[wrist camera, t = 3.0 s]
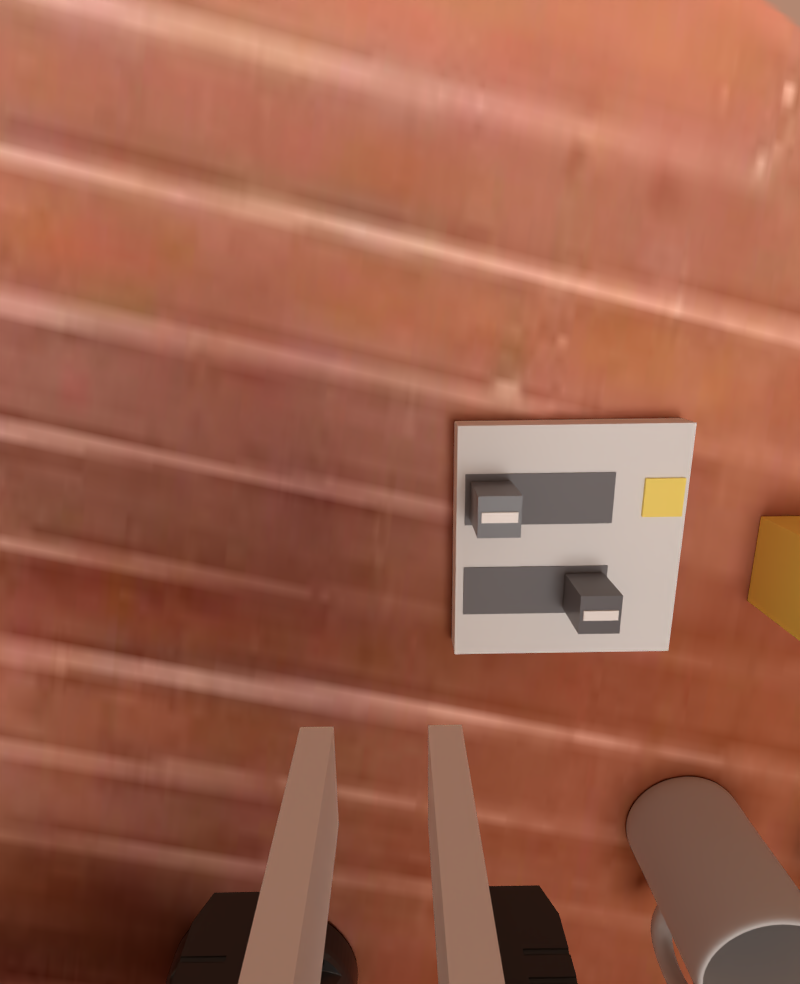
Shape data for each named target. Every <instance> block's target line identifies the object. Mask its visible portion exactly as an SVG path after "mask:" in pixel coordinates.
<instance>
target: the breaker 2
mask: <svg viewBox="0 0 800 984" xmlns="http://www.w3.org/2000/svg"><path fill="white" fill-rule="evenodd" d="M622 603H623V595H622V594H621V593H620V591H619V590H618V589H617V588H616V587H615V586H614V584H613V583H612V582H611V581H610V580H609V579H608V577H607V576H606V575H605V574H604V573H577V574H565V584H564V599H563V610H564V611H565V613H566V615H567V616H568V618H569V620H570V621H571V623H572V625H573V626H574V628H575V630H576V631H577V633H578V634H620V624H621V613H622Z"/></svg>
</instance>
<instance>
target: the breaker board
mask: <svg viewBox="0 0 800 984" xmlns="http://www.w3.org/2000/svg"><path fill="white" fill-rule="evenodd" d="M696 425H697V423H696V422H693V421H689V420H686V419H683V418H633V419H561V420H489V421H454V491H453V573H452V643H453V648H454V654H490V653H555V652H621V651H668V649H669V641H670V633H671V625H672V617H673V609H674V601H675V593H676V585H677V577H678V569H679V561H680V553H681V545H682V537H683V529H684V521H685V513H686V505H687V497H688V489H689V481H690V473H691V465H692V457H693V449H694V441H695V433H696ZM492 481H511V482H512V483H513V484H514V485H515V487H516V488H517V489H518V491H519V492H520V493H521V494H522V496H523V499H522V521H521V538H477V536H476V534H475V531H474V529H473V526H472V524H471V521H470V502H471V482H492ZM577 573H604V574H605V575H606V576H607V577H608V579H609V580H610V581H611V582H612V583H613V584H614V586H615V587H616V588H617V589H618V590H619V591H620V593H621V594H622V595H623V603H622V613H621V624H620V634H578V633H577V631H576V630H575V628H574V626H573V625H572V623H571V621H570V620H569V618H568V616H567V615H566V613H565V611H564V610H563V599H564V584H565V574H577Z"/></svg>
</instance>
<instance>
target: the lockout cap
mask: <svg viewBox="0 0 800 984" xmlns="http://www.w3.org/2000/svg"><path fill="white" fill-rule="evenodd" d="M747 601H748V602H750V603H751V604H752V605H753V606H755V607H756V608H757V609H759V610H760V611H761V612H763V613H764V614H765V615H767V616H768V617H769V618H770V619H772V620H773V621H774V622H776V623H777V624H778V625H780V626H781V627H782V628H784V629H785V630H786V631H788V632H789V633H790V634H791V635H793V636H794V637H795V638H797V639H798V640H799V641H800V516H761V519H760V525H759V532H758V538H757V544H756V550H755V556H754V563H753V569H752V575H751V581H750V587H749V593H748V600H747Z"/></svg>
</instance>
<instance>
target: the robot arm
mask: <svg viewBox="0 0 800 984" xmlns="http://www.w3.org/2000/svg"><path fill="white" fill-rule="evenodd" d="M338 826H339V821H338V801H337V782H336V762H335V742H334V727H300V730H299V734H298V738H297V742H296V746H295V750H294V754H293V759H292V763H291V767H290V771H289V775H288V779H287V783H286V787H285V792H284V796H283V800H282V804H281V808H280V812H279V816H278V820H277V825H276V829H275V833H274V837H273V841H272V845H271V849H270V853H269V858H268V862H267V866H266V870H265V874H264V878H263V882H262V886H261V891H260V892H231V893H214V894H213V895H212V897H211V898H210V899H209V901H208V902H207V903H206V905H205V906H204V907H203V909H202V910H201V911H200V913H199V914H198V915H197V917H196V918H195V919H194V921H193V922H192V925H191V928H190V930H189V931H188V932H187V933H186V935H185V936H184V937H183V939H182V940H181V942H180V944H179V946H178V948H177V951H176V954H175V957H174V959H173V962H172V965H171V968H170V971H169V974H168V977H167V981H166V984H357V978H358V971H357V964H356V960H355V957H354V954H353V952H352V950H351V948H350V946H349V945H348V943H347V942H346V940H345V939H344V938H343V936H342V935H341V934H340V933H339V932H338V931H337V930H336V929H335V928H333V927H332V926H331V925H330V924H328V923H327V921H328V912H329V904H330V895H331V886H332V878H333V869H334V861H335V852H336V843H337V835H338ZM428 830H429V845H430V860H431V875H432V890H433V906H434V921H435V936H436V951H437V966H438V982H439V984H577V979H576V973H575V970H574V966H573V963H572V959H571V956H570V955H569V951H568V945H567V941H566V938H565V934H564V931H563V927H562V924H561V920H560V916H559V913H558V912H557V911H556V909H555V908H554V906H553V905H552V903H551V902H550V901H549V899H548V898H547V896H546V895H545V893H544V892H543V890H542V889H541V888H540V886H489V885H488V879H487V873H486V867H485V861H484V855H483V849H482V843H481V837H480V831H479V825H478V819H477V813H476V807H475V802H474V796H473V790H472V784H471V778H470V772H469V766H468V760H467V754H466V748H465V742H464V736H463V730H462V725H428Z"/></svg>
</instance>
